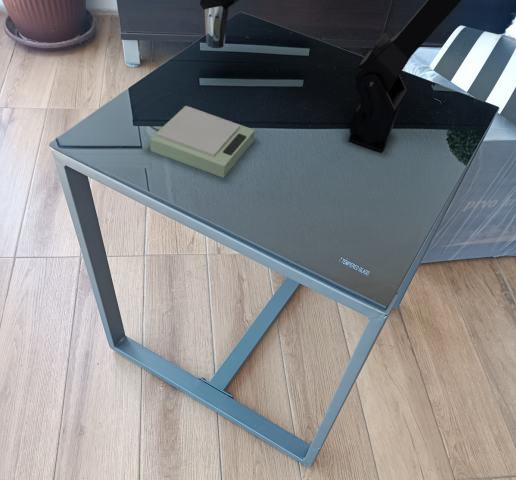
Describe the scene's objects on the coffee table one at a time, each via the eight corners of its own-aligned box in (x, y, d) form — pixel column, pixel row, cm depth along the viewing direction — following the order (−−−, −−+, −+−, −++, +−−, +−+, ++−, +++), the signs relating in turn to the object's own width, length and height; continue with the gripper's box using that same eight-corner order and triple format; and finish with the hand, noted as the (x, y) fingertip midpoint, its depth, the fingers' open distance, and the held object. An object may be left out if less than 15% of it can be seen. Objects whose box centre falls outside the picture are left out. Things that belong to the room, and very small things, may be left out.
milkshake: (198, 49, 88) (199, -17, 80) (206, 36, 91) (207, -29, 83) (223, 54, 88) (226, -12, 79) (230, 41, 91) (234, -23, 83)
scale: (253, 141, 84) (255, 126, 82) (223, 178, 77) (224, 162, 75) (185, 117, 86) (185, 101, 84) (150, 151, 79) (149, 134, 77)
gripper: (272, -133, 75) (206, -62, 86) (216, -113, 64) (148, -34, 75) (310, -56, 80) (243, 3, 91) (263, -25, 70) (193, 37, 80)
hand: (209, 1), depth 84 cm, fingers closed on milkshake, 5 cm apart
